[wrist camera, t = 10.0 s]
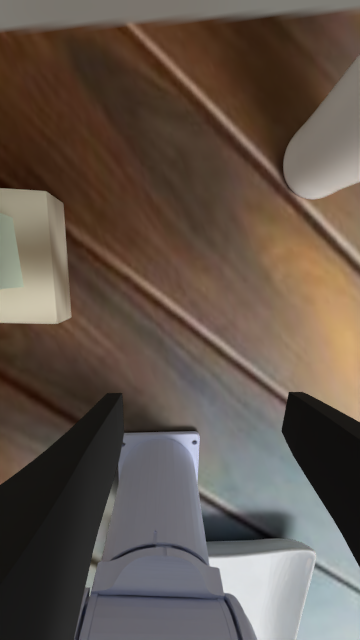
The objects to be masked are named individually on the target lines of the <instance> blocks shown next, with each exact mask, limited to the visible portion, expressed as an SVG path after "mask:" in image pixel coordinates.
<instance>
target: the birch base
mask: <svg viewBox="0 0 360 640" xmlns="http://www.w3.org/2000/svg"><path fill="white" fill-rule="evenodd" d="M0 213H2V214H4V215H7V216H10V217H12V218H13V224H14V230H15V236H16V242H17V248H18V254H19V260H20V266H21V272H22V278H23V285H24V287H18V288H7V289H0V323H37V324H58V323H60V322H63V321H65V320H67V319H69V318H71V305H70V290H69V276H68V262H67V248H66V234H65V219H64V205H63V203H62V202H61V201H59V200H58V199H57V198H55V197H54V196H52V195H51V194H49V193H48V192H47V191H37V190H21V189H6V188H0Z"/></svg>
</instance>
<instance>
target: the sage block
mask: <svg viewBox="0 0 360 640" xmlns="http://www.w3.org/2000/svg"><path fill="white" fill-rule="evenodd" d="M18 287H24V285H23V278H22V272H21V266H20V260H19V254H18V248H17V242H16V236H15V230H14V224H13V218H12V217H10V216H7V215H4V214H2V213H0V289H7V288H18Z"/></svg>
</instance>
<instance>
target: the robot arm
mask: <svg viewBox="0 0 360 640" xmlns="http://www.w3.org/2000/svg"><path fill="white" fill-rule="evenodd" d="M282 433H283V435H284V437H285V440H286V442H287V444H288V446H289V448H290V450H291V452H292V454H293V456H294V458H295V459H296V461H297V463H298V464H299V466H300V467H301V469H302V471H303V472H304V474H305V475H306V477H307V479H308V480H309V482H310V483H311V485H312V486H313V488H314V490H315V491H316V493H317V494H318V496H319V498H320V499H321V501H322V502H323V504H324V505H325V507H326V509H327V510H328V512H329V513H330V515H331V517H332V518H333V520H334V521H335V523H336V525H337V527H338V528H339V530H340V532H341V533H342V535H343V537H344V539H345V541H346V542H347V544H348V546H349V548H350V550H351V552H352V554H353V556H354V557H355V559H356V561H357V563H358V565H359V567H360V422H358V421H356V420H355V419H353V418H351V417H349V416H347V415H345V414H344V413H342V412H340V411H338V410H336V409H334V408H333V407H331V406H329V405H327V404H325V403H323V402H322V401H320V400H318V399H316V398H314V397H312V396H310V395H308V394H306V393H303V392H289V395H288V400H287V405H286V410H285V415H284V421H283V426H282ZM194 440H196V441H195V442H193V441H194ZM123 442H124V443H125V444H122V443H123ZM199 442H200V436H199V433H198V432H196V431H183V432H143V433H124V421H123V401H122V393H107V394H106V395H105V396H104V397H103V398H102V399H101V400H100V401H99V402H98V403H97V404H96V405H95V406H94V407H93V408H92V409H91V410H90V411H89V412H88V413H87V414H86V415H85V416H84V417H82V418H81V419H80V420H79V421H78V422H77V423H76V424H75V425H74V426H73V427H72V428H71V429H70V430H69V431H68V432H66V433H65V434H64V435H63V436H62V437H61V438H60V439H58V440H57V441H56V442H55V443H54V444H53V445H52V446H50V447H49V448H48V449H47V450H46V451H45V452H43V453H42V454H41V455H40V456H38V457H37V458H36V459H35V460H33V461H32V462H31V463H29V464H28V465H27V466H25V467H24V468H23V469H21V470H20V471H19V472H17V473H16V474H15V475H14V476H12V477H11V478H9V479H8V480H7V481H5V482H4V483H3V484H1V485H0V640H257V637H256V635H255V632H254V630H253V627H252V625H251V623H250V621H249V619H248V617H247V616H246V614H245V612H244V610H243V608H242V606H241V604H240V603H239V601H238V600H237V598H236V597H235V596H234V595H232V594H230V593H224V591H223V586H222V580H221V575H220V569H219V568H217V567H211V566H210V564H209V558H208V551H207V545H206V538H205V532H204V525H203V518H202V512H201V505H200V499H199V492H198V486H197V480H198V461H199ZM117 466H118V472H119V484H118V489H117V493H116V498H115V502H114V507H113V511H112V516H111V520H110V525H109V529H108V534H107V538H106V543H105V547H104V551H103V556H102V560H101V561H100V562H99V563H98V565H97V569H96V574H95V578H94V582H93V586H92V591H91V595H90V596H89V593H90V588H86V587H85V585H86V580H87V576H88V571H89V567H90V562H91V558H92V553H93V549H94V545H95V541H96V537H97V534H98V530H99V526H100V523H101V520H102V516H103V513H104V510H105V506H106V503H107V500H108V496H109V493H110V489H111V486H112V483H113V479H114V476H115V473H116V469H117Z"/></svg>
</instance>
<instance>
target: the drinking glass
mask: <svg viewBox="0 0 360 640" xmlns="http://www.w3.org/2000/svg"><path fill="white" fill-rule="evenodd" d="M283 172H284V177H285V180H286V182H287V184H288V186H289V188H290V189H291V190H292V191H293V192H294V193H295V194H296V195H298V196H300V197H302V198H305V199H320V198H323V197H326V196H328V195H331V194H333V193H335V192H337V191H339V190H341V189H343V188H346V187H348V186H351V185H354V184H356V183H359V182H360V54H359V55H358V56H357V58H356V59H355V60H354V62H353V63H352V64H351V66H350V67H349V68H348V69H347V71H346V72H345V73H344V74H343V76H342V77H341V78H340V80H339V81H338V82H337V83H336V85H335V86H334V87H333V89H332V90H331V91H330V92H329V94H328V95H327V96H326V98H325V99H324V100H323V101H322V103H321V104H320V105H319V106H318V108H317V109H316V110H315V111H314V113H313V114H312V115H311V117H310V118H309V119H308V120H307V121H306V122H305V123H304V124H303V125H302V127H301V128H300V129H299V130H298V131H297V132H296V133H295V135H294V136H293V137H292V139H291V140H290V142H289V144H288V146H287V149H286V152H285V155H284V160H283Z"/></svg>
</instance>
